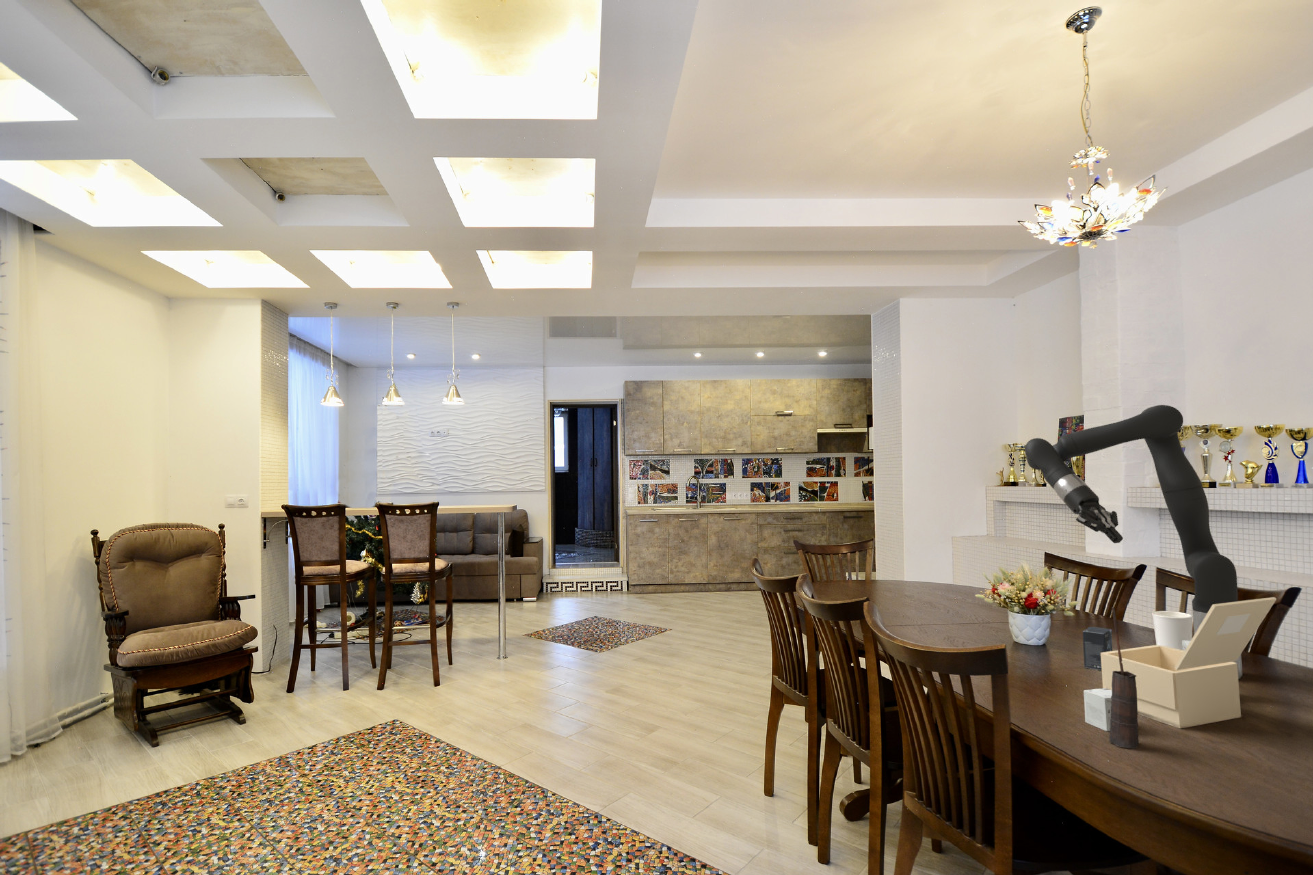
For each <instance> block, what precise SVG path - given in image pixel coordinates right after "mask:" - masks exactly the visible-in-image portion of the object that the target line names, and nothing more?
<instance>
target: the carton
mask: <svg viewBox="0 0 1313 875" xmlns="http://www.w3.org/2000/svg"><path fill="white" fill-rule="evenodd" d="M1120 651H1121V657H1122V664H1123V670H1124V671H1128V672H1130V673H1132V674H1134V675H1136V677H1135V680H1136V687H1137V707H1138V708H1137V709H1138V714H1137V715H1138V716H1142V717H1145V718H1148V719H1151V720H1153V721H1157V722H1159V723H1162V724H1166V725H1169V726H1172V727H1174V728H1177V729H1180V730H1181V729H1185V728H1191V727H1195V726H1201V725H1205V724H1210V723H1216V722H1221V721H1227V720H1232V719H1233V720H1234V719H1239V718H1242V714H1241V712H1242V711H1241V701H1240V686H1239V685H1240V683H1239V679H1238V670H1237V663H1235V662H1227V663H1220V664H1214V665H1207V666H1201V667H1194V668H1188V669H1182V670H1176V669H1174V668H1175V666H1176V664H1177V663H1178V661H1179V659H1180V658H1181V656H1182V654H1183V653H1184V651H1183V650H1179V649H1175V648H1171V647H1166V646H1160V645H1156V644H1155V645H1154V644H1153V645H1146V646H1140V647H1138V646H1137V647H1132V648H1125V649H1120ZM1101 666H1102V670H1101V680H1102V689H1103V688H1107V689H1110V690H1112V673H1113V671H1121V669H1120V663H1119V655H1118V649H1117V650H1113V651H1109V652H1102V653H1101Z"/></svg>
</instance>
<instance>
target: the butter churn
mask: <svg viewBox="0 0 1313 875" xmlns="http://www.w3.org/2000/svg"><path fill="white" fill-rule="evenodd" d="M1111 612H1112V620H1113V626H1114V632H1115V639H1116V648H1117V650H1118V655H1119V663H1120V669H1121V671H1113V673H1112V696H1111V699H1112V700H1111V718H1110V731H1109V738H1108V739H1109V743H1110V744H1113V745H1115V746H1117V747H1120V748H1124V749H1137V747H1139V745H1140V744H1139V741H1140V740H1139V721H1138V720H1139V719H1138V715H1139V714H1138V709H1137V708H1138V707H1137V687H1136V680H1135V677H1136V675H1134V674H1132V673H1130V672H1128V671H1124V670H1123V664H1122V657H1121V651H1120V650H1121V644H1120V639H1119V638H1120V637H1119V630H1118V624H1117V617H1116V609H1115V607H1114V606H1112V607H1111Z"/></svg>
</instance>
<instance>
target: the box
mask: <svg viewBox="0 0 1313 875" xmlns="http://www.w3.org/2000/svg"><path fill="white" fill-rule="evenodd" d="M1112 632H1113V631H1112V628H1105V627H1097V626H1089V627H1088V628H1086V629H1084V630H1083V631H1082V644H1083V646H1082V647H1083V666H1084V668H1087V669H1090V670H1097V671H1102V666H1101V653H1102V652H1109V651H1114V650H1113V638H1112V637H1113V636H1112Z"/></svg>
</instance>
